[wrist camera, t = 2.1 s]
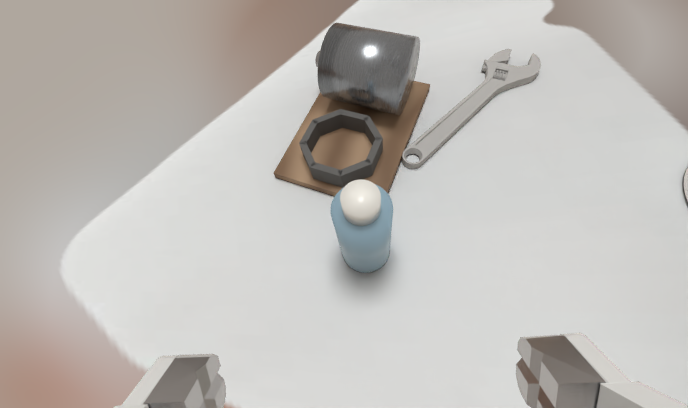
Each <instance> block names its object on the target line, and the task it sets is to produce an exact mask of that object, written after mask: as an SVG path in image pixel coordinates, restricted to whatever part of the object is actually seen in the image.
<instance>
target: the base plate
mask: <svg viewBox="0 0 688 408" xmlns="http://www.w3.org/2000/svg"><path fill="white" fill-rule="evenodd" d="M429 87H430V84H426V83H421V82H416V81H414V82H413V85H412V89H411V92H410V95H409V98H408V101H407V103H406V105H405V108H404V110H403V111H402V113H401V114H400V115H395V114H391V113H387V112H383V111H379V110H375V109H370V108H366V107H362V106H358V105H354V104H350V103H345V102H341V101H337V100H333V99H329V98H325V97H323V96H322V94H321V92H320V94H319V95H318V97H317V99H316V101H315V102H314V104H313V106H312V108H311V109H310V111H309V113H308V114H307V116H306V118H305V120H304V121H303V123H302V125H301V127H300V128H299V130H298V132H297V133H296V135H295V137H294V139H293V140H292V142H291V144H290V146H289V147H288V149H287V151H286V152H285V154H284V156H283V158H282V159H281V161H280V163H279V165H278V166H277V168H276V170H275V171H274V175H275V177H276V178H279V179H282V180H285V181H289V182H292V183H295V184H298V185H301V186H304V187H307V188H311V189H314V190H317V191H320V192H323V193H326V194H329V195H332V196H335V195H336V194H337V193H338V192H339V191H340V190H341V189H342V187H339V186H336V185H332V184H329V183H326V182H323V181H319V180H316V179H313V176H312V174H311V172H310V170H309V167H308V165H307V163H306V161H305V158H304V156H303V153H302V150H301V147H300V144H299V142H300V141H301V139H302V137H303V135H304V134H305V132H306V130H307V128H308V127H309V125H310V123H311V121H312V120H313V119H316V118H318V117H321V116H323V115H326V114H329V113H331V112H334V111H337V110H339V109H343V110H347V111H351V112H355V113H359V114H363V115H367V116H370V118H371V120H372V121H373V123H374V124H375V126H376V128H377V129H378V131H379V133H380V134H381V136H382V138H383V151H382V154H381V156H380V158H379V161H378V163H377V165H376V168H375V170H374V172H373V175H372V176H370V177H368V178H365V179H363V180H368V181H370V182H372V183H374V184H376V185H378V186H380V187H381V188H383V189H384V190H385V191H386V192H387V193H388V192H389V190H390V187H391V185H392V182H393V179H394V177H395V174H396V172H397V169H398V167H399V164H400V162H401V159H402V154H403V152H404V150H405V149H406V147H407V144H408V142H409V139H410V137H411V134H412V132H413V129H414V127H415V124H416V122H417V119H418V117H419V114H420V112H421V109H422V106H423V104H424V101H425V99H426V96H427V94H428V91H429ZM371 147H372V144H371V143H370V141H369V139H368V137H367V136H366V134H365V133H361V132H358V131H354V130H350V129H346V128H340V129H338V130H335V131H333V132H330V133H327V134H325V135H322V136H320V138H319V139H318V141H317V143H316V145H315V147H314V149H313V151H312V152H311V154H312V156H313V158H314V161H315V162H316V163H319V164H322V165H326V166H329V167H333V168H336V169H339V170H341V169H344V168H346V167H349V166H351V165H354V164H356V163H359V162H361V161H364V160H366V158H367V156H368V154H369V152H370V150H371Z"/></svg>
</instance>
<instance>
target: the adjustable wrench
mask: <svg viewBox="0 0 688 408" xmlns="http://www.w3.org/2000/svg"><path fill="white" fill-rule="evenodd" d="M510 53H511V49H505V50H502V51H500V52H497V53H496V54H494V55H493V56H492V57H491V58H490V59H489V60H485V61H484V64H483V68H482V71H484V72H485V80H484V82H483V83H482V84H481V85H479V86H478V87H477V88H476V89H475V90H474V91H472V92H471V93H470V94H469V95H468V96H467V97H465V98H464V99H463V100H462V101H461V102H460V103H458V104H457V105H456V106H455V107H454V108H453V109H452V110H450V111H449V112H448V113H447V114H446V115H445V116H443V117H442V118H441V119H440V120H439V121H438V122H436V123H435V124H434V125H433V126H432V127H431V128H429V129H428V130H427V131H426V132H425V133H424V134H423V135H421V136H420V137H419V138H418V139H417V140H416V141H414V142H413V143H412V144H411V145H410V146H409V147H407V148H406V149H405V150H404V152H403V154H402V163H403V165H404V166H405V167H407V168H410V169H416V168H419V167H420V166H421V165H422V164H423V163H425V162H426V161H427V160H428V159H429V158H430V157H431V156H432V155H433V154H434V153H435V152H436V151H437V150H438V149H439V148H440V147H441V146H442V145H443V144H445V143H446V142H447V141H448V140H449V139H450V138H451V137H452V136H453V135H454V134H455V133H456V132H457V131H458V130H459V129H460V128H461V127H462V126H463V125H464V124H466V123H467V122H468V121H469V120H470V119H471V118H472V117H473V116H474V115H475V114H476V113H477V112H478V111H479V110H480V109H481V108H482V107H483V106H484V105H486V104H487V103H488V102H489V101H490V100H491V99H492V98H493V97H494V96H496V95H497V94H499V93H501V92H503V91H506V90H508V89H511V88H514V87H517V86H521V85H524V84H528V83H530V82H531V81H533V80H534V79H535V78H536V76H537V74H538V72H539V70H540V67H541V63H540V59H539V58H538V57H537V55H535V54H532V56H531V58H530V60H529V63H528V65H525V66H513V65H508V64H507V62H508V59H509V56H510ZM409 154H416V155H418V156H419V159H420V160H419V162H416V163H410V162H408V161H407V160H406V156H407V155H409Z"/></svg>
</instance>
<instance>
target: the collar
mask: <svg viewBox="0 0 688 408" xmlns="http://www.w3.org/2000/svg"><path fill="white" fill-rule="evenodd" d="M340 128H346V129H350V130H354V131H358V132H361V133H365V134H366V136H367V137H368V139H369V141H370V143H371V144H372V147H371V150H370V152H369V154H368V156H367V158H366V160H364V161H361V162H359V163H356V164H354V165H351V166H349V167H346V168H344V169H341V170H339V169H336V168H333V167H329V166H326V165H322V164H319V163H316V162H315V161H314V158H313V156H312V154H311V152H312V151H313V149H314V147H315V145H316V143H317V141H318V139H319V138H320V136H322V135H325V134H327V133H330V132H333V131H335V130H338V129H340ZM299 144H300V147H301V150H302V153H303V156H304V158H305V161H306V163H307V165H308V167H309V170H310V172H311V174H312V176H313V179H316V180H319V181H323V182H326V183H329V184H332V185H336V186H339V187H342V188H343V187H345V186H346V185H347V184H348V183H350V182H352V181H354V180H360V179H362V180H363V179H365V178H368V177H370V176H372V175H373V172H374V170H375V168H376V165H377V163H378V161H379V158H380V156H381V154H382V151H383V138H382V136H381V134H380V133H379V131H378V129H377V128H376V126H375V124H374V123H373V121H372V120H371V118H370V116H367V115H363V114H359V113H355V112H351V111H347V110H343V109H339V110H337V111H334V112H331V113H329V114H326V115H323V116H321V117H318V118H316V119H313V120H312V121H311V123H310V125H309V127H308V128H307V130H306V132H305V134H304V135H303V137H302V139H301V141H300V142H299Z"/></svg>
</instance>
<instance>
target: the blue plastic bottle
mask: <svg viewBox="0 0 688 408" xmlns="http://www.w3.org/2000/svg"><path fill="white" fill-rule="evenodd" d="M392 216H393V205H392V201H391V198H390V196H389V195H388V193H387V192H386V191H385V190H384V189H383V188H381V187H380V186H378V185H376V184H374V183H372V182H370V181H368V180H362V179H360V180H354V181H352V182H350V183H348V184H347V185H346V186H345V187H343V188H342V189H341V190H340V191H339V192H338V193H337V194H336V195H335V197H334V199H333V201H332V204H331V217H332V220H333V224H334V227H335V230H336V234H337V237H338V241H339V244H340V248H341V251H342V255H343V258H344V260H345V262H346V263H347V264H348V266H349V267H351V268H352V269H354V270H356V271H358V272H363V273H369V272H373V271H376V270H378V269H380V268H381V267H382V266H383V265H384V264H385V263H386V261H387V259H388V257H389V252H390V240H391V228H392Z"/></svg>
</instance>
